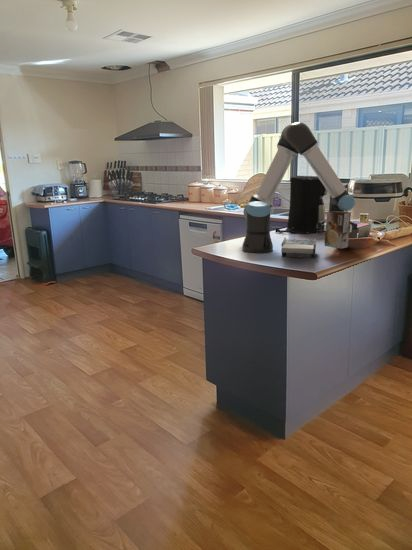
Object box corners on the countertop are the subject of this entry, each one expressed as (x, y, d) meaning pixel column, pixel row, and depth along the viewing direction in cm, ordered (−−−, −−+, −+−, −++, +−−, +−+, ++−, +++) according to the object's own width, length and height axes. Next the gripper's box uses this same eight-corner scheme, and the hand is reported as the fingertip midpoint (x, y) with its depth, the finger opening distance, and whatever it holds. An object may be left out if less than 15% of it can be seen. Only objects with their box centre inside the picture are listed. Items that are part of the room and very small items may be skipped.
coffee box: (348, 247, 199) (352, 212, 195) (341, 249, 195) (344, 213, 190) (330, 244, 205) (333, 210, 201) (323, 246, 201) (326, 211, 197)
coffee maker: (333, 230, 270) (337, 175, 262) (304, 237, 249) (307, 177, 240) (302, 226, 286) (305, 174, 277) (272, 232, 265) (274, 176, 256)
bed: (280, 257, 197) (281, 243, 196) (283, 251, 212) (284, 237, 210) (315, 259, 194) (316, 244, 192) (315, 252, 208) (316, 238, 206)
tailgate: (283, 246, 197) (281, 252, 185) (283, 242, 196) (281, 248, 184) (313, 248, 194) (313, 254, 181) (313, 243, 193) (313, 249, 181)
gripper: (359, 230, 213) (363, 238, 192) (312, 228, 218) (311, 235, 198) (361, 215, 211) (365, 221, 190) (313, 213, 216) (312, 219, 196)
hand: (337, 228), depth 194 cm, fingers closed on coffee box, 10 cm apart
